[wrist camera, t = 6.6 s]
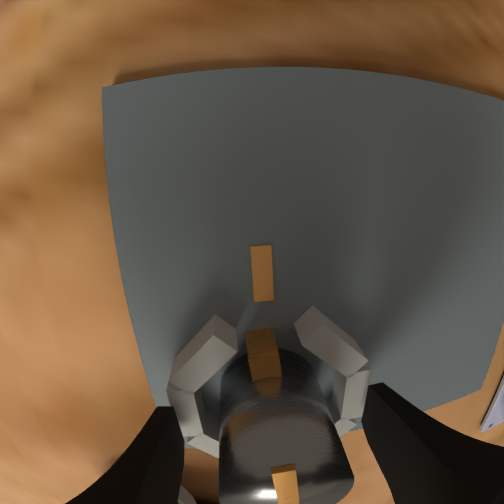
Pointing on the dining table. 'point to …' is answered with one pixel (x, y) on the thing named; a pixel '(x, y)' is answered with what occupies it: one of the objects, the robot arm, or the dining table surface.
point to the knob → (277, 431)
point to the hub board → (308, 231)
